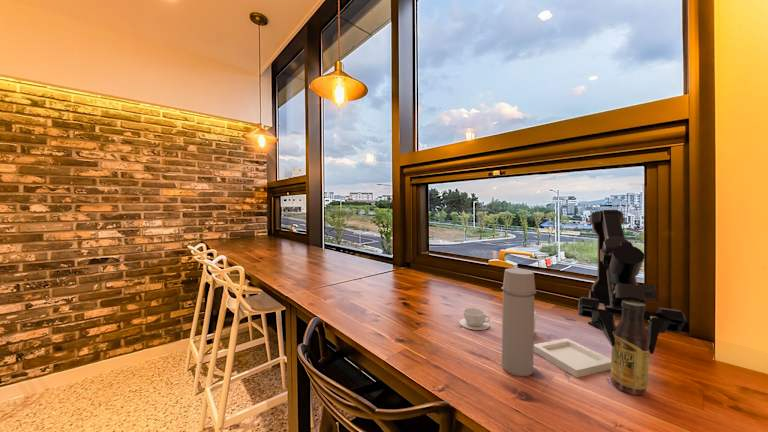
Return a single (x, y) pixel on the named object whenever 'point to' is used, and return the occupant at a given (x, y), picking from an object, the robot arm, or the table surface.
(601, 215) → the robot arm
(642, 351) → the sauce bottle
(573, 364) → the holder tray
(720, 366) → the table surface
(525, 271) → the water bottle
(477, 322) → the teacup
